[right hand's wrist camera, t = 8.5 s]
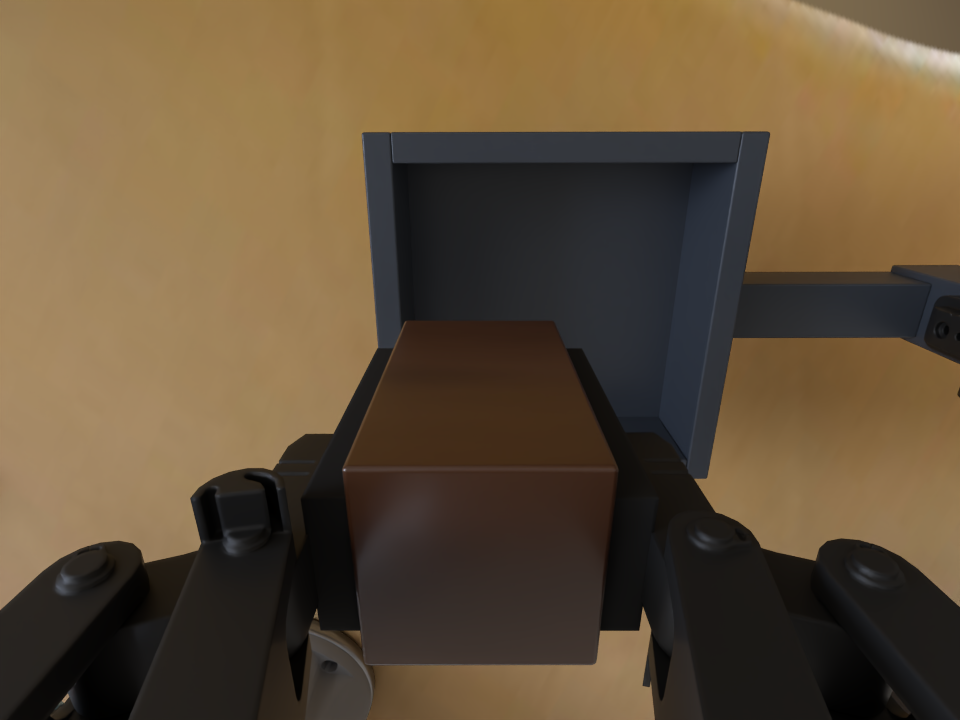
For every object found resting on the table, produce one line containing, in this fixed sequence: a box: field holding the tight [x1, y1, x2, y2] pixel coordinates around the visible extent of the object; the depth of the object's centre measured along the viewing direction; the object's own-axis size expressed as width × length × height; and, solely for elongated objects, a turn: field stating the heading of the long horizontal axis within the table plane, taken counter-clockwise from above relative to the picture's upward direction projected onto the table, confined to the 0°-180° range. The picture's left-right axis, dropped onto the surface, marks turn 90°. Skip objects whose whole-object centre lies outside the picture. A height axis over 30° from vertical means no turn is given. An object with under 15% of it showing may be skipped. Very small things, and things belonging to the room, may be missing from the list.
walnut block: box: [342, 321, 619, 665], centre depth 11 cm, size 4×4×7 cm
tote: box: [362, 132, 960, 479], centre depth 21 cm, size 26×14×8 cm, turn 90°
